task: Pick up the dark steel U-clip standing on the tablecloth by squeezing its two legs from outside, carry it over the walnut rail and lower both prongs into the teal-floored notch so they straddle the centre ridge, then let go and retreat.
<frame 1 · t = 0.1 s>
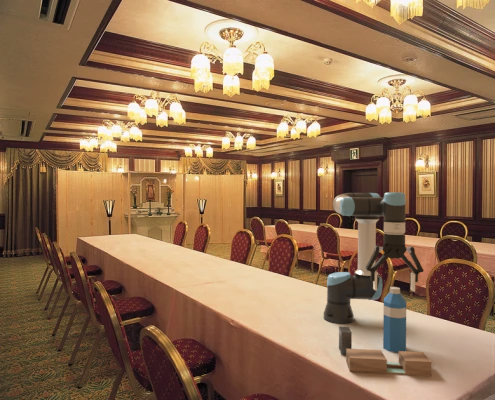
hand: (393, 290, 136), 28 cm above the table, fingers open, 13 cm apart
clip: (345, 351, 147), on the table
water bottle: (394, 348, 150), on the table
rail: (387, 368, 132), on the table
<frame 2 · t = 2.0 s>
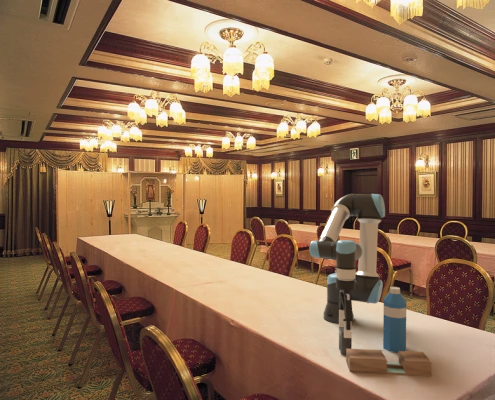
hand: (344, 331, 146), 8 cm above the table, fingers open, 13 cm apart
nothing on the table moved.
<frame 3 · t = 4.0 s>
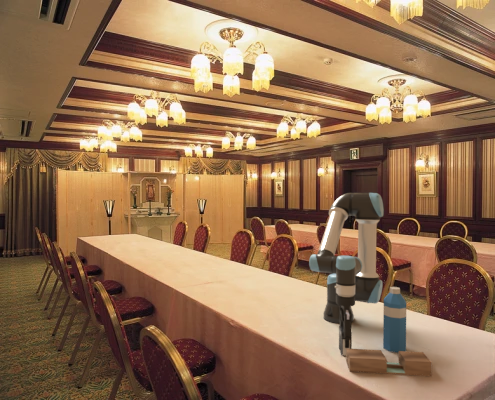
hand: (344, 351, 147), 0 cm above the table, fingers closed on clip, 7 cm apart
clip: (345, 351, 147), on the table, touching gripper
everything else where it was.
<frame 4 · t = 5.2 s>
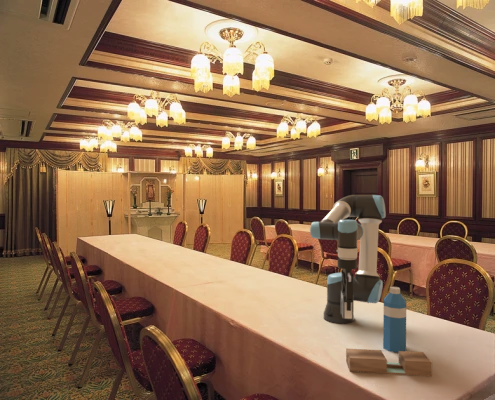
hand: (346, 315, 146), 15 cm above the table, fingers closed on clip, 6 cm apart
clip: (346, 315, 146), point 15 cm above the table, touching gripper
everything else where it was.
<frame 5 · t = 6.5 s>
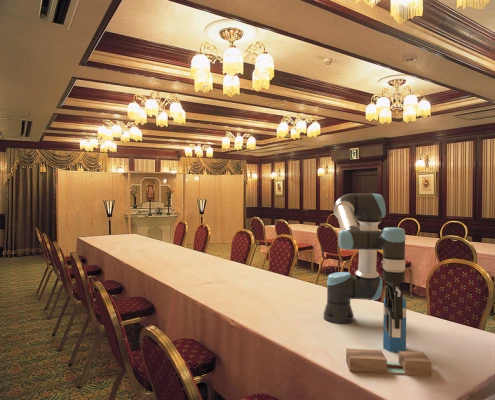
hand: (393, 333, 132), 13 cm above the table, fingers closed on clip, 6 cm apart
clip: (393, 333, 132), point 13 cm above the table, touching gripper
everything else where it was.
when the fingers open (3 cm above the table, at t = 8.7 s): clip drops 2 cm, resting on rail.
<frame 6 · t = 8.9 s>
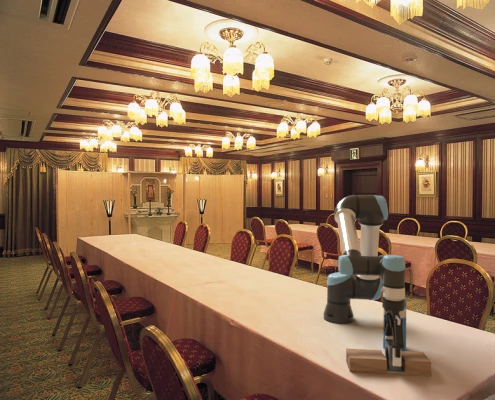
hand: (392, 359, 132), 4 cm above the table, fingers open, 9 cm apart
clip: (392, 367, 132), point 1 cm above the table, touching rail
everything else where it was.
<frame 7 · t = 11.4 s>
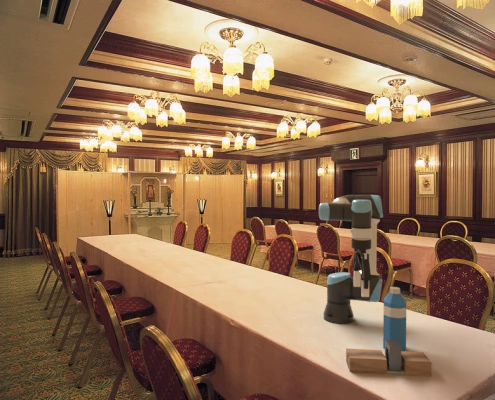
hand: (361, 291, 145), 25 cm above the table, fingers open, 13 cm apart
nothing on the table moved.
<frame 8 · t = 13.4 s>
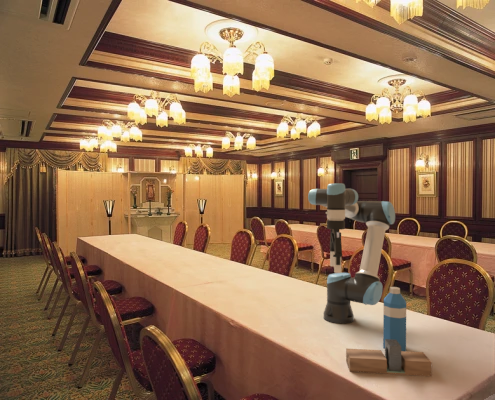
hand: (335, 269, 155), 32 cm above the table, fingers open, 13 cm apart
nothing on the table moved.
at the end: clip inside the target area on the rail (0.0 cm from its centre), point 0.6 cm above the rail's base; clip tilted 0°; the gripper is holding nothing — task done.
